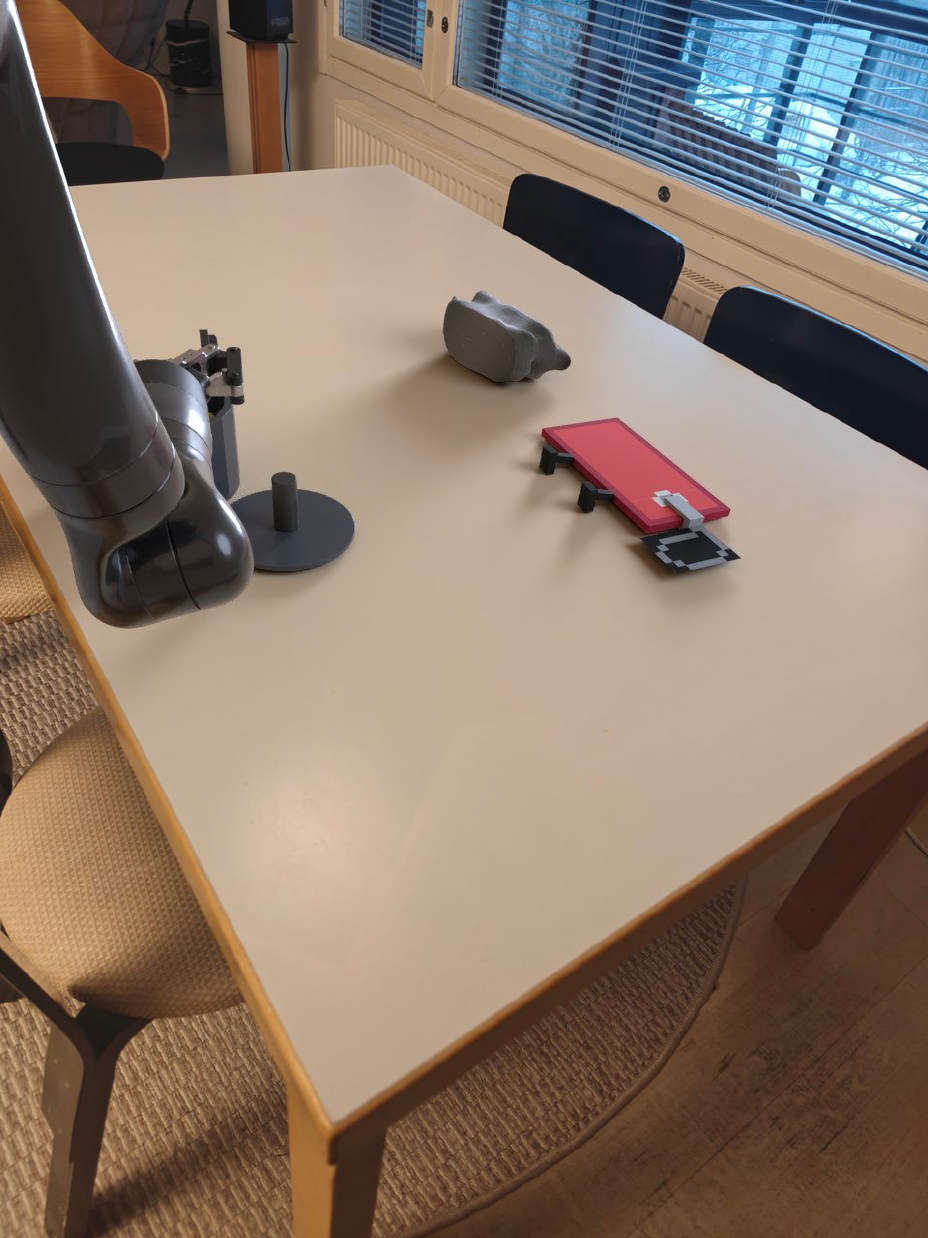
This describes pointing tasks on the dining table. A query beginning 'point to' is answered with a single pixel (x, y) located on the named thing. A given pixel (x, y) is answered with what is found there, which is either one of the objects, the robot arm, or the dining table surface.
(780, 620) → the dining table surface
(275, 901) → the dining table surface
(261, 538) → the pot lid
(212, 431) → the pot
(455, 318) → the rock
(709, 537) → the red board with handle
